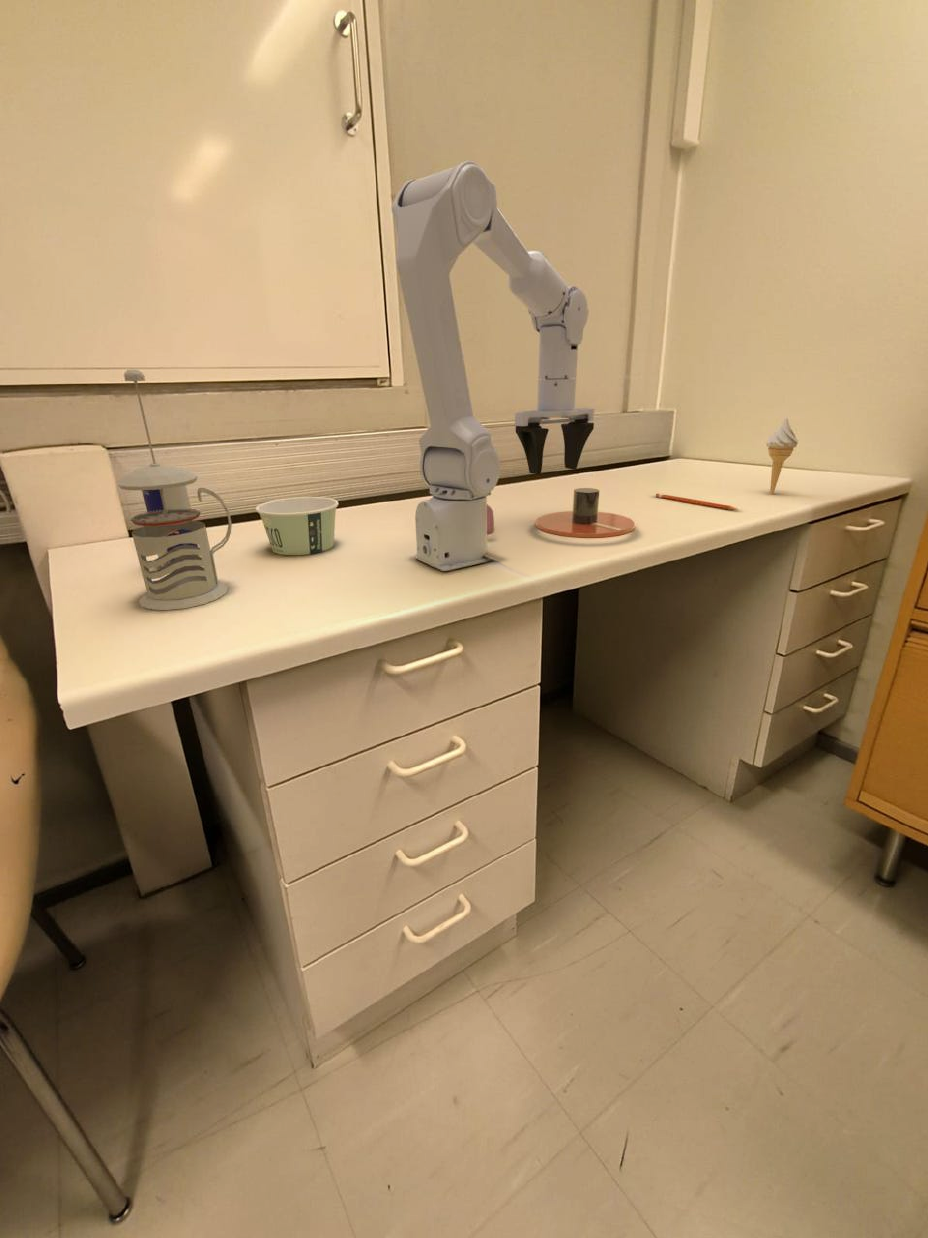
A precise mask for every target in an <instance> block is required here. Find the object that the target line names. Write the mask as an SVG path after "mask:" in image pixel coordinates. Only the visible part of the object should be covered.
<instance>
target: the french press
mask: <svg viewBox="0 0 928 1238" xmlns="http://www.w3.org/2000/svg"><path fill="white" fill-rule="evenodd" d="M123 375H124V381H125V382H133V383H134V385H135V389H136V394H137V398H138V403H139V408H140V412H141V416H142V421H143V424H144V428H145V429H144V430H145V434H146V437H147V443H148V446H149V450H150V455H151V459H152V463H150V464H149V465H147V466H142V467H138V468H137V469H134V470H133V471H131V472H129V473H128V474H125V475H124V476H123V477H121V478H120V479H119V480H118V481H116V484H117V486H118V487H119V488H120V489H121V490H125V491H142V490H157V489H159V490H160V494H161V499H162V503H163V507H164V511H163V510H162V511H161V510H159V511H158V510H156V512H155V511H153V512H152V511H151V512H152V513H151V512H148V513H147V511H145V512H144V513H142V512H141V513H139V514H137V515H134V516H133V517H132V518H131V519H130V521H131V522H132V523H133V524H134V525H136V526H141V527H139V528H136V529H134V530H132V532H131V537H132V539H133V543H134V548H135V552H136V555H137V559H138V563H139V567H140V570H141V574H142V579H143V582H144V586H145V589H146V592H145V593H143V595H142V596H141V598H140V599H139V601H138V603H139V604H140V607H142V608H145V609H148V610H156V611H171V610H172V611H173V610H183V609H188V608H192V607H193V608H194V607H197V606H202V605H205V604H207V603H208V604H209V603H211V602H213V601H216V600H219V598H222V596H225V595H226V593H227V591H228V590H229V588H228V587H227V586H226V585H225V584H224V583H223V582H222V581H220V580H219V578H218V573H217V568H216V563H215V559H214V554H215V553H216V552H217V551H219V550H221V549H222V548H224V546H225V545H226V544H227V543H228V541H229V540H230V536H231V534H232V527H233V522H232V518H231V513H230V510H229V508H228V506H227V504H226V503H225V501H224V500H223V498H222V497H221V496H220V495H219V494H217V493H216V492H214V491H213V490H210V489H208V488H205V487H199V488H198V489H197V493H196V494H197V498H198V501H199V502H200V503H202V502H203V501H202V493H204V494H207V495H210V496H212V497H213V498H215V499H216V500H218V502H219V504H221V506H222V507H223V508H224V510H225V512H226V515H227V519H228V520H227V521H228V525H227V531H226V534H225V536H224V537H223V538H222V539H221V541H219V542H218V543H217V544H215V545H213V546H212V547H211V546H210V543H209V542H210V541H209V537H208V533H207V527H206V524H205V523H204V522H203V521H198V520H196V519H198V518H199V517H200V516H201V511H199V510H198V509H195V508H191V509H189V508H187V509H186V508H185V510H184V508H183V509H181V508H180V509H179V508H178V510H176V509H175V510H173V509H172V510H170V509H169V510H167V509H166V507H165V502H164V498H163V494H162V489H166V488H174V487H180V486H185V485H186V486H189V485H192V484H195V483H196V482H197V481H198V478H199V477H198V475H196V474H195V473H193V472H191V471H190V470H188V469H185V468H182V467H177V466H173V465H168V464H160V463H158V462H156V459H155V454H154V450H153V447H152V442H151V438H150V437H151V436H150V433H149V428H148V425H147V421H146V416H145V412H144V408H143V407H144V406H143V403H142V397H141V394H140V389H139V385H138V382H145V381H146V377H145V374H144V373H143V372H142V371H141V370H139V369H137V368H136V369H135V368H131V369H127V370H126V371H125V372H124V374H123ZM157 511H158V512H157ZM191 520H193V521H191ZM180 529H185V530H190V531H193V532H189V533H185V534H180V535H174V536H166V535H168V534H169V533H170V532H174V531H177V530H180ZM165 536H166V537H165ZM183 543H193V544H199V548H198V547H196V546H192V545H186V544H185V545H181V546H177V547H175V548H173V549H172V550H170V551H169V552H167V553H166V554H164V555H163V556H161V557H159V558H158V557H156V558H155V559H153V560H148V559H147V558H148V557H152V556H158V554H159V553H161V552H162V551H164V550H166V549H168V548H169V547H172V546H175V545H178V544H183ZM182 555H183V556H182ZM195 555H200V556H201V557H199V556H195ZM174 558H175V559H174ZM171 559H174V560H172V561H171V562H169V563H168V564H167V565H165V566H163V567H162V566H160V565H162V564H164V563H166V562H168V561H170V560H171ZM158 567H160V568H158ZM153 568H157V569H156V570H150V569H153ZM154 579H157V580H154Z"/></svg>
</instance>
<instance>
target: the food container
mask: <svg viewBox="0 0 928 1238" xmlns="http://www.w3.org/2000/svg"><path fill="white" fill-rule="evenodd" d="M337 507H339V501H338V500H337V499H333V498H330V497H324V496H298V497H287V498H280V499H275V500H274V499H273V500H269V501H267V502H263V503H260V504H258V505H257V506H256V507H255V511H256V513H258V514H259V517H260V519H261V521H262V524H263V527H264V530H265V533H266V537H267V539H268V542H269V544H270V545H269V546H270V547H271V551H272V552H273V553H275V554H278V555H282V556H307V555H313V554H317V553H322V552H325V551H327V550H330V549H331V548H333V547H334V545H335V532H336V531H335V529H336V512H337V511H336V510H337Z"/></svg>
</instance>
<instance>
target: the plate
mask: <svg viewBox="0 0 928 1238" xmlns="http://www.w3.org/2000/svg"><path fill="white" fill-rule="evenodd" d="M572 495H573V498H572V499H573V500H572V510H565V511H557V512H551V513H547V514H543V515H541V516H539V517H538V518H536V520H535V527H537V528H538V529H539V530H541V531H543V532H545V533H548V534H553V535H558V536H562V537H569V538H570V537H571V538H593V539H594V538H607V537H608V538H609V537H616V536H617V537H618V536H622V535H625V534H628V533H630V532H632V531H633V530H634V529H635V525H636V523H635V521H634V520H633V519H631V518H630V517H627V516H624V515H620V514H616V513H611V512H604V511H599V504H600V503H599V502H600V489H598V488H592V487H578V488H575V489H573V494H572Z"/></svg>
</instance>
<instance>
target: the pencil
mask: <svg viewBox="0 0 928 1238" xmlns="http://www.w3.org/2000/svg"><path fill="white" fill-rule="evenodd" d="M655 498H659V499H665V500H670V501H674V502H675V501H677V502H682V503H687V504H692V505H699V506H704V507H711V508H716V509H720V510H721V509H723V510H727V511H734V510H735V511H738V510H739V508H737V507H734V506H733V505H727V504H722V503H716V502H710V501H705V500H697V499H693V498H687V497H680V496H674V495H669V494H664V493H663V494H662V493H656V494H655Z"/></svg>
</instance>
